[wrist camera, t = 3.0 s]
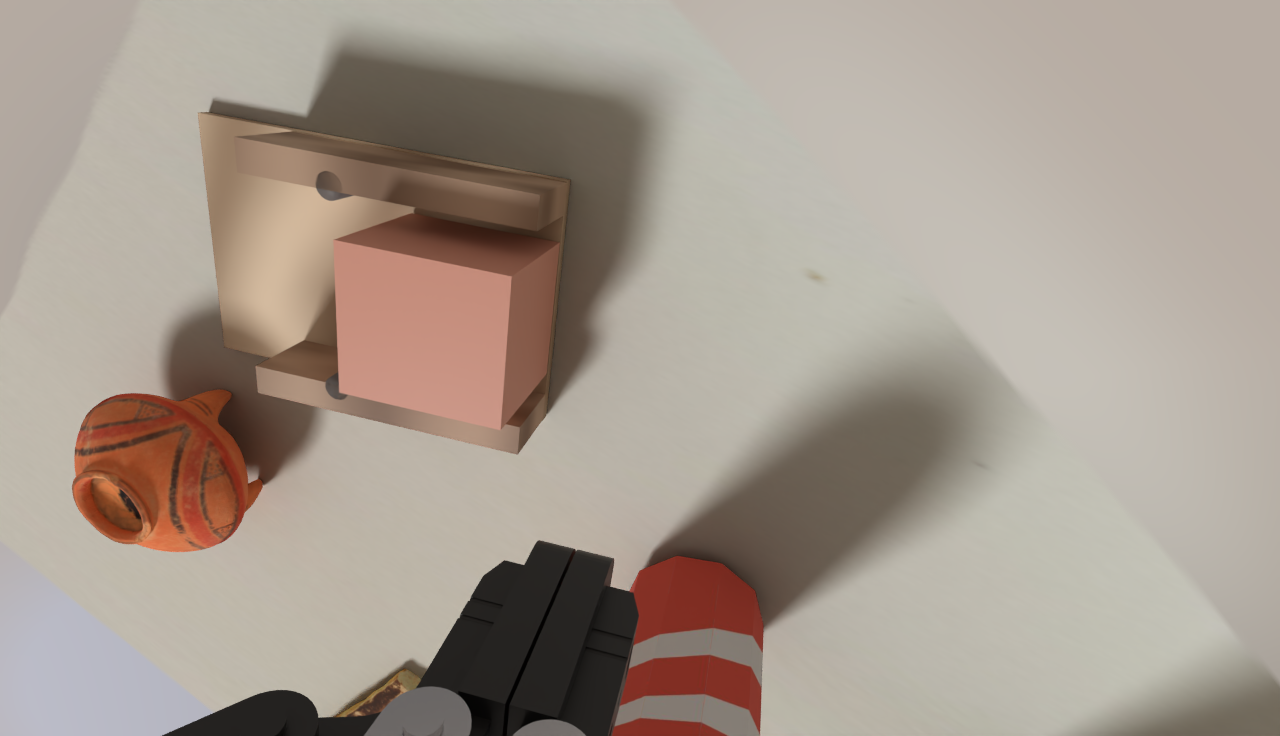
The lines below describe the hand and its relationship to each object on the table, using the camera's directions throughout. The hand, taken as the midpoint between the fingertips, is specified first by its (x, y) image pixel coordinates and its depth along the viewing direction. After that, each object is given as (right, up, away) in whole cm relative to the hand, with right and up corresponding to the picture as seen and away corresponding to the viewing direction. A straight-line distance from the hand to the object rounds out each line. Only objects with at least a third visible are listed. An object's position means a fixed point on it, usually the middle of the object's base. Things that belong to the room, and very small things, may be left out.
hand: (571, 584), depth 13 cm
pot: (-19, +1, +20) cm, 28 cm away
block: (-5, +7, +14) cm, 16 cm away
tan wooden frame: (-9, +8, +15) cm, 19 cm away
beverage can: (+4, -7, +19) cm, 20 cm away
